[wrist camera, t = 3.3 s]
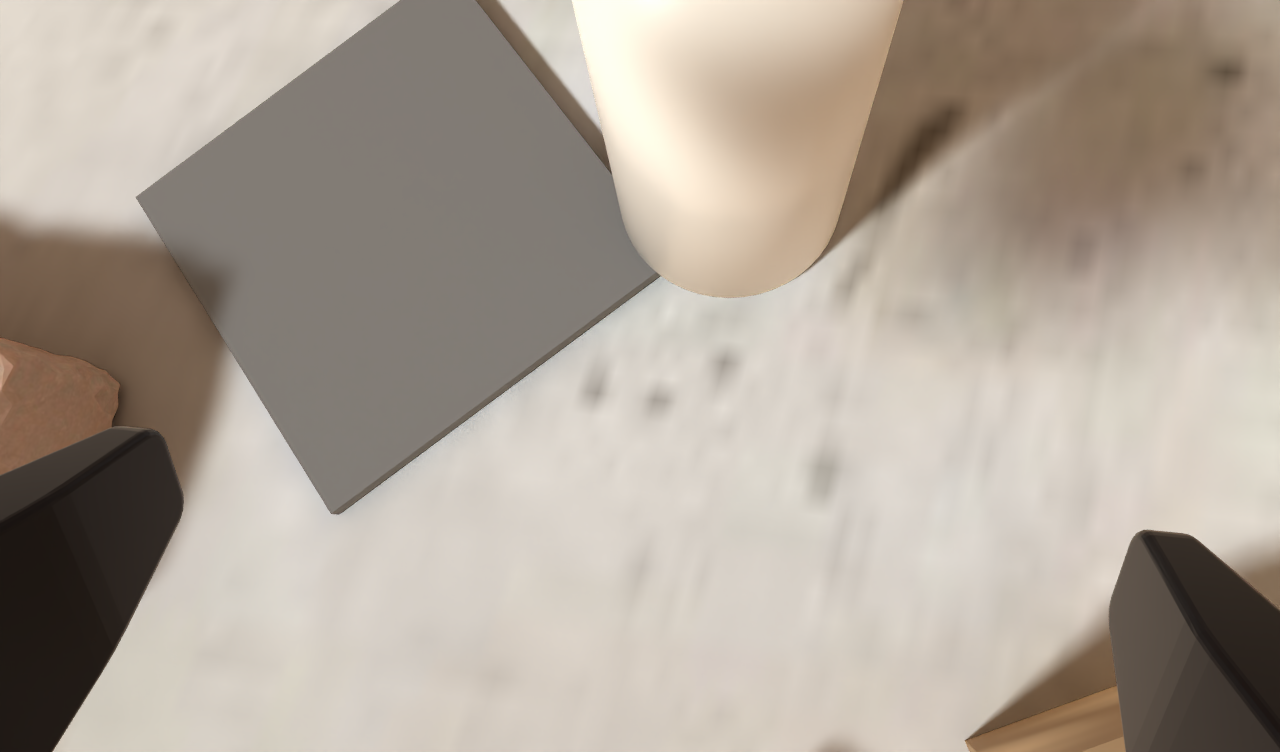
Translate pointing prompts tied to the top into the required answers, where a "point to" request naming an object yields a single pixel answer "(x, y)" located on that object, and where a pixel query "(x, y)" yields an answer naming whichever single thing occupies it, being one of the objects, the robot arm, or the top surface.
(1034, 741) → the oak block
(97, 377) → the brick
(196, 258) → the mat
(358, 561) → the top surface
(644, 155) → the glue bottle
